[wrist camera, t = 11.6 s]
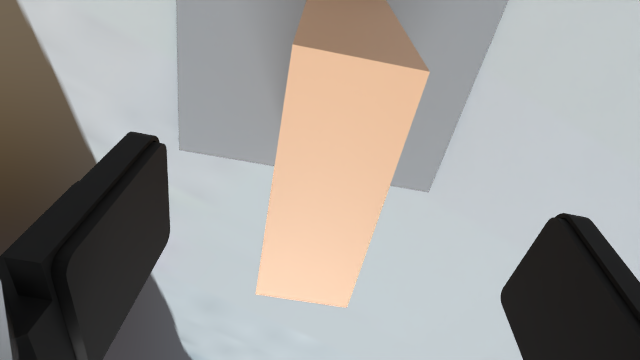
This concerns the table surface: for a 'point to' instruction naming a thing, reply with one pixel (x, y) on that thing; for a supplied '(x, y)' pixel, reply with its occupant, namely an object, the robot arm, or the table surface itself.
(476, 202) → the table surface
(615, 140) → the table surface
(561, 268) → the robot arm
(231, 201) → the table surface
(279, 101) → the rubber mat
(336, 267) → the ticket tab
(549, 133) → the table surface
